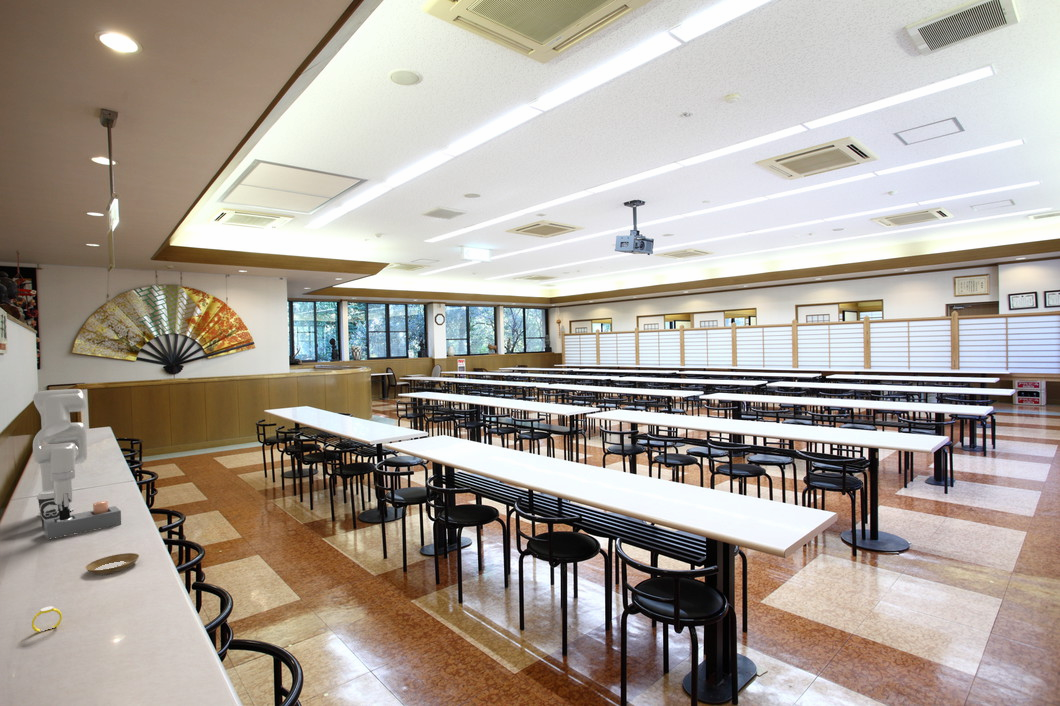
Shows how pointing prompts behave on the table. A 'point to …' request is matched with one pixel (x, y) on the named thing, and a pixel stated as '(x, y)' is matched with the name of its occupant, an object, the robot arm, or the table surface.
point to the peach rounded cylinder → (100, 507)
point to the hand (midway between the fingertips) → (64, 519)
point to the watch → (46, 610)
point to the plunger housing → (82, 523)
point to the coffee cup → (47, 505)
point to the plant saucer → (127, 557)
